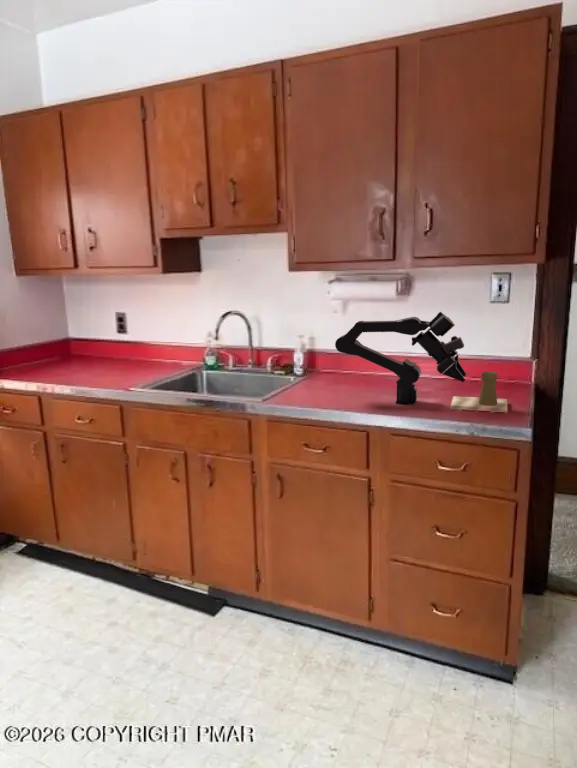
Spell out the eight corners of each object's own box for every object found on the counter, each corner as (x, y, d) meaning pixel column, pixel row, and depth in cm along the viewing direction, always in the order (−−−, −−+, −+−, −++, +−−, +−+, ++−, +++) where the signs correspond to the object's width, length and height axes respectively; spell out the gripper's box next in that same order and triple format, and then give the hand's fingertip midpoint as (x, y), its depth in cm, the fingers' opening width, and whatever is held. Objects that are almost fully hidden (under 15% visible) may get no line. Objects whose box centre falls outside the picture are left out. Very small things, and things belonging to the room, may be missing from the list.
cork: (500, 405, 190) (502, 373, 188) (483, 406, 190) (484, 374, 187) (492, 400, 196) (494, 369, 194) (475, 401, 196) (477, 370, 193)
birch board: (450, 409, 192) (450, 405, 192) (453, 400, 204) (453, 396, 204) (507, 413, 186) (507, 408, 186) (506, 403, 198) (507, 399, 198)
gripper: (448, 333, 184) (482, 367, 183) (451, 326, 201) (483, 357, 200) (423, 356, 189) (456, 390, 188) (428, 347, 206) (459, 378, 205)
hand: (464, 378), depth 195 cm, fingers open, 9 cm apart
